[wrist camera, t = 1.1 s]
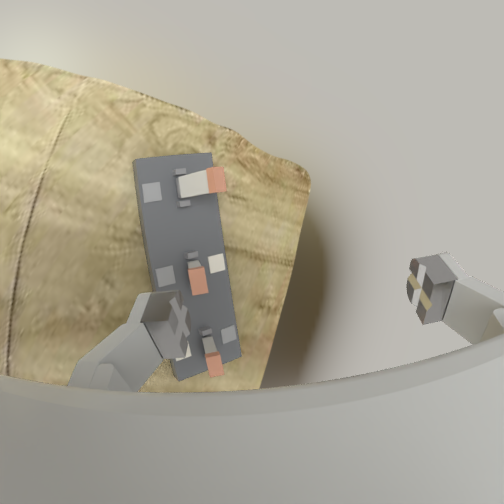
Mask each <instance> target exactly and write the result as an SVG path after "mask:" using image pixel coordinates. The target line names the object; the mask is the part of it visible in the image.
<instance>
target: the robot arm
mask: <svg viewBox="0 0 504 504" xmlns="http://www.w3.org/2000/svg"><path fill="white" fill-rule="evenodd" d="M410 270H411V271H412V274H411V275H410V276H409V278H408V280H407V294H408V297H409V300H410V302H411V303H412V304H413V305H415V306H417V310H416V313H417V315H418V317H419V318H420V320H421V322H422V324H423V325H424V324H429V323H433V322H438V321H442V320H443V322H444V323H445V324H446V325H448V326H449V327H450V328H452V329H453V330H455V331H456V332H457V333H458V334H460V335H461V336H462V337H464V338H465V339H466V340H467V341H469V342H470V343H471V344H473V345H471V346H468V347H465V348H462V349H459V350H456V351H453V352H450V353H446V354H443V355H439V356H436V357H432V358H429V359H425V360H422V361H418V362H414V363H410V364H407V365H402V366H398V367H394V368H390V369H385V370H381V371H376V372H371V373H367V374H362V375H356V376H351V377H346V378H340V379H334V380H328V381H322V382H316V383H308V384H301V385H293V386H285V387H276V388H265V389H253V390H240V391H223V392H194V393H159V392H138V390H139V389H140V388H141V387H142V385H143V384H144V383H145V382H146V381H147V379H148V378H149V377H150V376H151V375H152V373H153V372H154V371H155V370H156V368H157V367H158V366H159V365H160V364H161V362H162V361H163V359H174V358H185V357H186V352H187V347H188V342H187V339H186V337H187V336H188V335H189V334H190V331H191V318H190V313H189V311H188V308H187V307H185V306H184V305H183V301H184V298H183V295H182V293H181V291H180V290H170V291H157V292H146V293H140V294H139V295H138V296H137V298H136V301H135V303H134V306H133V308H132V310H131V313H130V315H129V317H128V320H127V322H126V324H122V325H121V326H119V327H118V328H117V329H116V330H115V331H113V332H112V333H111V334H110V335H109V336H107V337H106V338H105V339H104V340H102V341H101V342H100V343H99V344H98V345H96V346H95V347H94V348H93V349H92V350H91V351H89V352H88V353H87V354H86V355H85V356H83V357H82V358H81V359H80V360H79V361H78V362H77V364H76V366H75V369H74V371H73V373H72V376H71V378H70V380H69V383H68V385H67V386H63V385H56V384H49V383H43V382H37V381H31V380H25V379H20V378H15V377H11V376H7V375H0V504H504V292H503V291H501V290H499V289H497V288H495V287H493V286H491V285H489V284H487V283H485V282H483V281H481V280H479V279H477V278H475V277H469V276H468V275H467V274H466V272H465V271H464V270H463V269H462V267H461V266H460V265H459V264H458V263H457V261H456V260H455V259H454V258H453V257H452V256H451V254H450V253H447V252H445V253H440V254H436V255H432V256H426V257H420V258H414V259H412V261H411V263H410Z"/></svg>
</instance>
